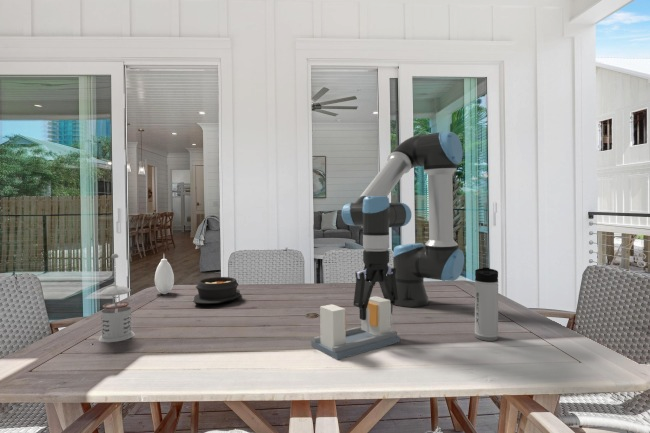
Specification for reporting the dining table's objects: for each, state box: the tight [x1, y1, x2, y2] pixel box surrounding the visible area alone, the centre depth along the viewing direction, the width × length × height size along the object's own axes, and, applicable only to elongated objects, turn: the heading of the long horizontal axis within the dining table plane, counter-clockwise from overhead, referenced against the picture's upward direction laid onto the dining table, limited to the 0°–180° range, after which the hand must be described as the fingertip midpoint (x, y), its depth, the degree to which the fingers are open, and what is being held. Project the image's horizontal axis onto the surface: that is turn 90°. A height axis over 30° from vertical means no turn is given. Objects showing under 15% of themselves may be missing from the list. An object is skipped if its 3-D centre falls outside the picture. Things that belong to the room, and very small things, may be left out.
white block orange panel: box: [367, 296, 391, 336], centre depth 115 cm, size 6×5×10 cm
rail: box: [310, 304, 401, 361], centre depth 111 cm, size 12×22×12 cm, turn 124°
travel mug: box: [474, 266, 499, 342], centre depth 115 cm, size 6×7×20 cm
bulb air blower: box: [154, 253, 175, 295], centre depth 176 cm, size 8×8×18 cm
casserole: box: [192, 276, 242, 305], centre depth 163 cm, size 25×19×8 cm
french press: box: [98, 253, 136, 343], centre depth 119 cm, size 10×12×25 cm
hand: (376, 327), depth 115 cm, fingers open, 8 cm apart
